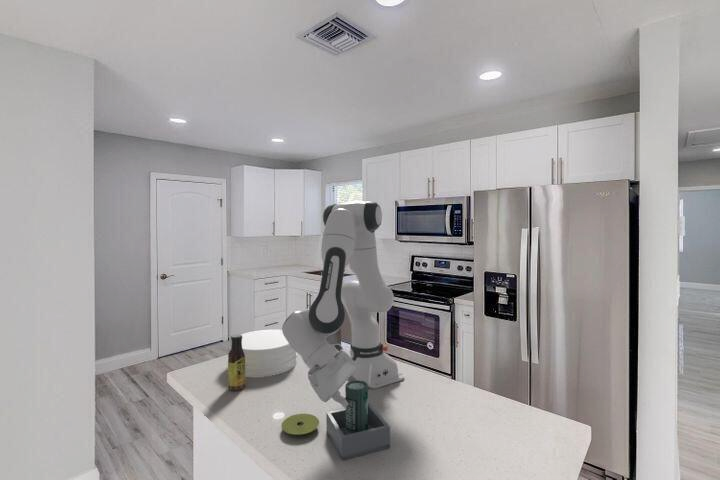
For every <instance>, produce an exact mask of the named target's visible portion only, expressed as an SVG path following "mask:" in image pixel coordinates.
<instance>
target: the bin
mask: <svg viewBox="0 0 720 480" xmlns="http://www.w3.org/2000/svg"><path fill="white" fill-rule="evenodd" d="M325 413H326V415H325V416H326V421H325V422H326V423H325V424H326V433H327V435H328V437H329V439H330V441H331V443H332V445H333V447H334V449H335V451H336V452H337V453H338V455H339V457H340V459H341V461H342V462H343V461H347V460H350V459H353V458H354V459H355V458H358V457H361V456H364V455H368V454H371V453H376V452H380V451H383V450H387V449H390V448H391V426H390V425H389V424H388V422H386V420H385V419H384V418H383V417H382V416H381V415H380V413H379V412H378V411H377V410H376V409H375V408H374V407H373V405H372V404H371V403H370V402H368V430H365V431H360V432H356V433H352V434H348V435H346V407H345V408H344V407H343V408H340V409H336V410H331V411H326V412H325Z"/></svg>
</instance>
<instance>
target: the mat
mask: <svg viewBox="0 0 720 480" xmlns="http://www.w3.org/2000/svg"><path fill="white" fill-rule="evenodd" d="M319 424H320V420H319V419H318V417H317V416H315V415H314V414H311V413H296V414H292V415H290V416H288V417H287V418H285V419H284V420H283V421H282V423H281V430H283V431H284V432H285V433H286V434H291V435H298V436H299V435H307V434H308V433H312V432H314V431H315V430H316V429H318V426H319Z"/></svg>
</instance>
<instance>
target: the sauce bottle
mask: <svg viewBox="0 0 720 480" xmlns="http://www.w3.org/2000/svg"><path fill="white" fill-rule="evenodd" d="M230 340H231V341H232V346H231V345H230V347H232V348H231V349H230V350H229V352H228V358H227V360H228V361H227V385H228V390H230V391H240V390H243V388H245V385H246V377H245V354H244V351H243V348H242V334H233V335H231V336H230Z"/></svg>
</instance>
